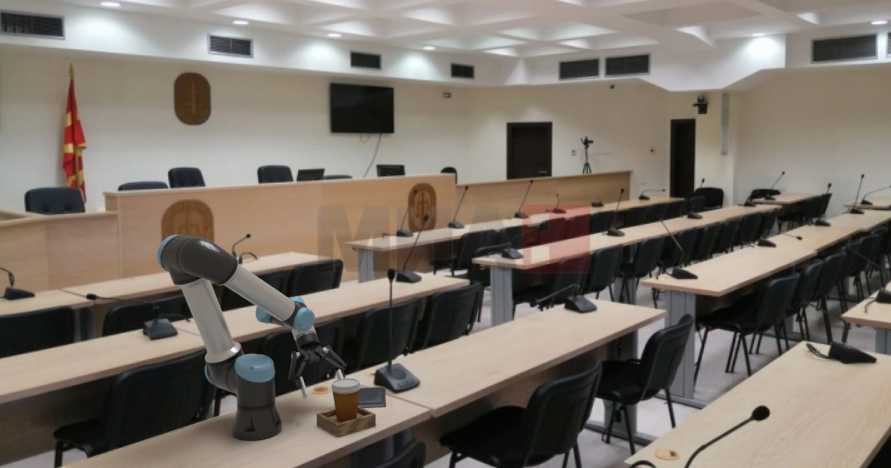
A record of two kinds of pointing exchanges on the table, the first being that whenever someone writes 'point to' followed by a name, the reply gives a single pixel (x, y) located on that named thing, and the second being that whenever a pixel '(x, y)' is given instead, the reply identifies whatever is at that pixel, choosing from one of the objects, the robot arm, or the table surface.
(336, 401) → the disposable coffee cup
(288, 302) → the robot arm
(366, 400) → the wallet
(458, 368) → the table surface
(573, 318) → the table surface
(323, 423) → the tray
